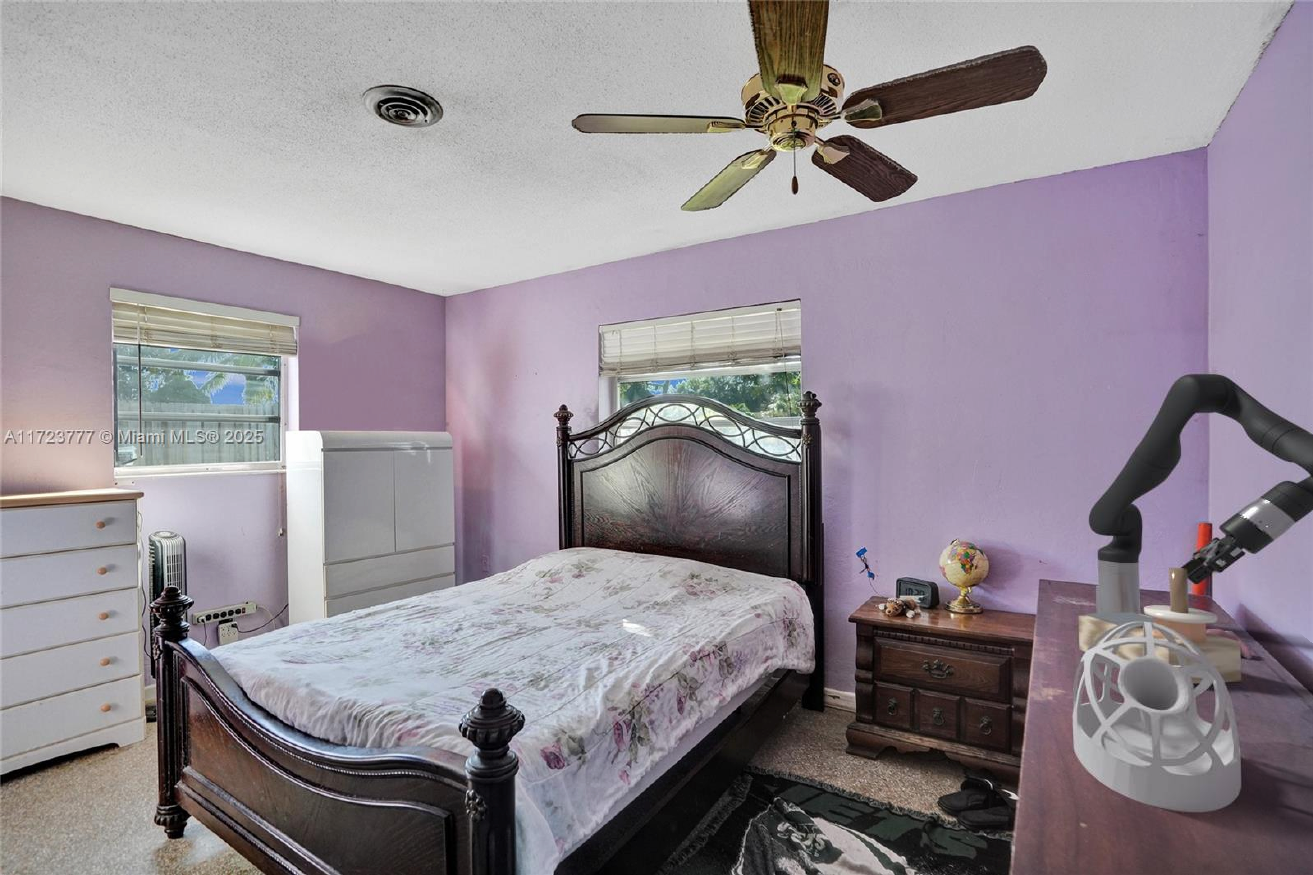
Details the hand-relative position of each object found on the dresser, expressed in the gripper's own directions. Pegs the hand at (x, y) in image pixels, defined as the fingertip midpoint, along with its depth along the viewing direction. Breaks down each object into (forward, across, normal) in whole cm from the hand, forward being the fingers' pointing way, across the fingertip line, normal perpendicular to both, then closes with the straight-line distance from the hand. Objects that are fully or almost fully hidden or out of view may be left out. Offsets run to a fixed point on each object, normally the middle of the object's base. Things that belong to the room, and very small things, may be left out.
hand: (1186, 577), depth 136 cm
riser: (+18, -5, +11) cm, 22 cm away
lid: (+7, 0, +5) cm, 8 cm away
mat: (+15, -10, +3) cm, 18 cm away
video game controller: (+8, -21, +21) cm, 31 cm away
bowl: (+10, 0, +8) cm, 12 cm away
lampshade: (+24, +54, +5) cm, 60 cm away
